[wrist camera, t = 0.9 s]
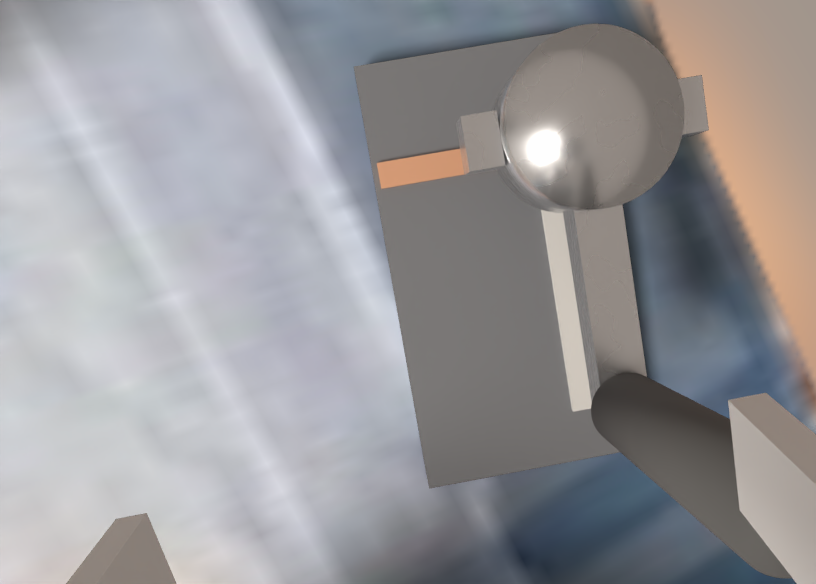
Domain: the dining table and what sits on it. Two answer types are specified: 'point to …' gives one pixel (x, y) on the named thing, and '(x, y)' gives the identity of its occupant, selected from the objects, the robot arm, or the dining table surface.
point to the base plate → (474, 276)
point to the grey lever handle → (615, 243)
